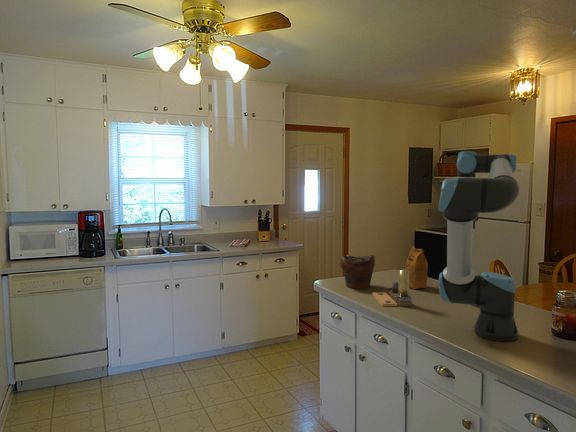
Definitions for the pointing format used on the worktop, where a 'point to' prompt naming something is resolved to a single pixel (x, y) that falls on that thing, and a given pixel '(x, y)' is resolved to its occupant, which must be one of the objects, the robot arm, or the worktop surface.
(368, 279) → the brown basket
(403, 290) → the brass leg
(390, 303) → the orange bolt plate
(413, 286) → the coffee package
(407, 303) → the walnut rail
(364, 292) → the worktop surface
